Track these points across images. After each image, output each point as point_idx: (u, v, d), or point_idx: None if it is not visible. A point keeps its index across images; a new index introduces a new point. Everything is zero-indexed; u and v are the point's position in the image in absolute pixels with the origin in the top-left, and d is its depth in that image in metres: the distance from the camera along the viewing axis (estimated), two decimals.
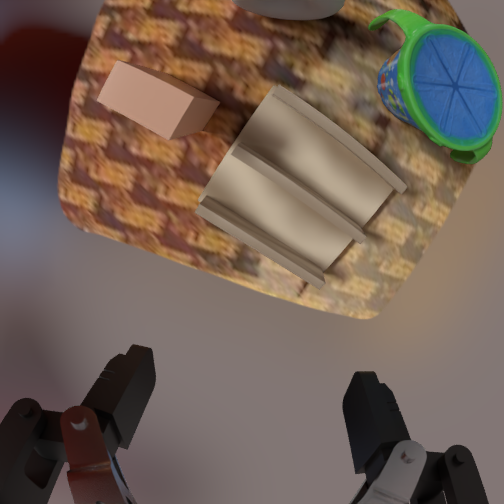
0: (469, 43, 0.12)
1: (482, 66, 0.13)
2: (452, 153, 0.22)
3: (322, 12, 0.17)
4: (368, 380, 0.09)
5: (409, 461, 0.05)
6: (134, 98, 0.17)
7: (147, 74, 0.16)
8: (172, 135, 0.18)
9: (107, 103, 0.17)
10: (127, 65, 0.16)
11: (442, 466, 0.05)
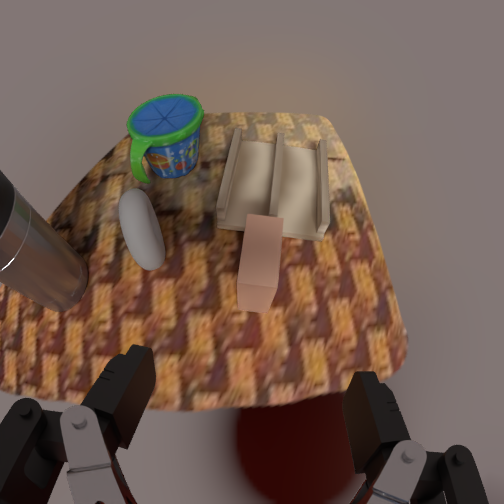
0: (132, 121, 0.33)
1: (141, 112, 0.35)
2: None
3: (151, 204, 0.34)
4: (368, 380, 0.09)
5: (409, 461, 0.05)
6: (264, 253, 0.26)
7: (242, 251, 0.26)
8: None
9: (276, 276, 0.25)
10: (239, 271, 0.25)
11: (442, 466, 0.05)
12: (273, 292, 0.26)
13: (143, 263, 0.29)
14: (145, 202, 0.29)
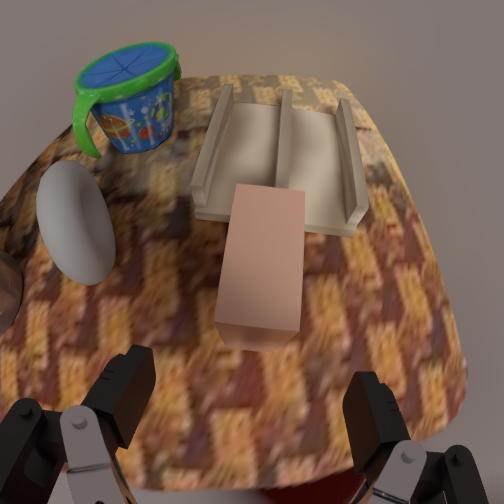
0: (82, 76, 0.20)
1: (96, 66, 0.21)
2: (176, 77, 0.29)
3: (95, 185, 0.21)
4: (368, 380, 0.09)
5: (409, 461, 0.05)
6: (270, 259, 0.13)
7: (225, 255, 0.13)
8: None
9: (296, 307, 0.12)
10: (219, 297, 0.12)
11: (442, 466, 0.05)
12: (289, 336, 0.13)
13: (71, 276, 0.16)
14: (75, 177, 0.16)
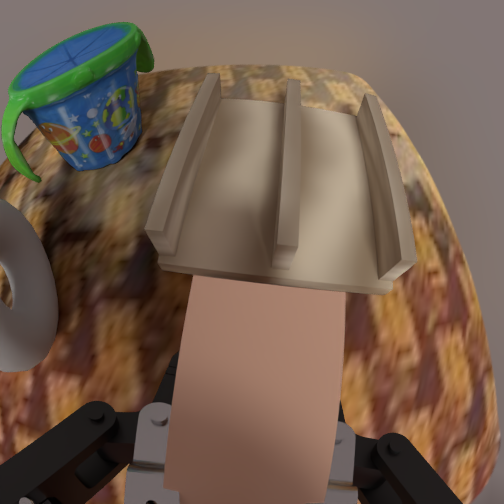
0: (22, 74, 0.12)
1: (42, 60, 0.14)
2: (148, 68, 0.21)
3: (24, 226, 0.13)
4: None
5: None
6: (264, 462, 0.05)
7: (170, 449, 0.05)
8: None
9: None
10: None
11: (377, 459, 0.06)
12: None
13: None
14: None
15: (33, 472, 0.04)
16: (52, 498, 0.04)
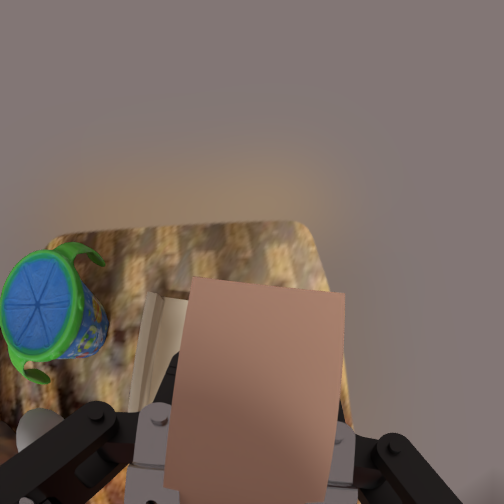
0: (3, 306, 0.19)
1: (12, 286, 0.20)
2: (101, 265, 0.28)
3: (54, 422, 0.19)
4: None
5: None
6: (264, 463, 0.05)
7: (170, 450, 0.05)
8: None
9: None
10: None
11: (377, 459, 0.06)
12: None
13: None
14: None
15: (33, 472, 0.04)
16: (52, 498, 0.04)
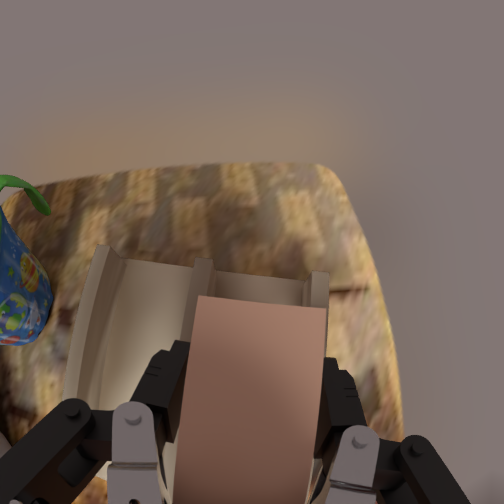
0: None
1: None
2: (45, 213, 0.17)
3: None
4: (327, 365, 0.10)
5: (359, 446, 0.06)
6: (257, 449, 0.06)
7: (180, 438, 0.06)
8: None
9: None
10: (176, 497, 0.05)
11: (399, 460, 0.06)
12: None
13: None
14: None
15: (19, 473, 0.03)
16: (40, 500, 0.04)
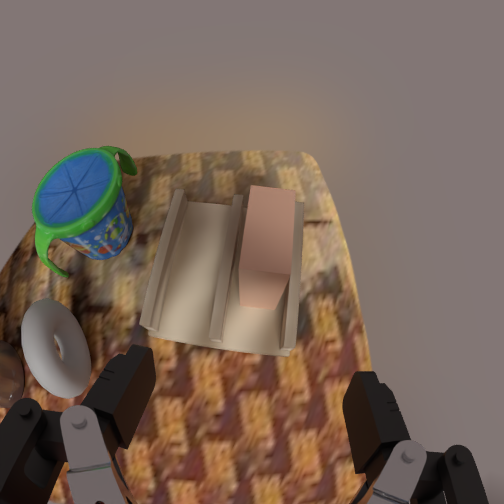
0: (38, 195, 0.23)
1: (51, 180, 0.24)
2: (133, 173, 0.32)
3: (66, 314, 0.23)
4: (368, 380, 0.09)
5: (409, 461, 0.05)
6: (273, 232, 0.20)
7: (245, 229, 0.20)
8: None
9: (288, 260, 0.19)
10: (241, 254, 0.20)
11: (442, 466, 0.05)
12: (285, 281, 0.20)
13: (60, 396, 0.19)
14: (47, 329, 0.19)
15: None
16: None
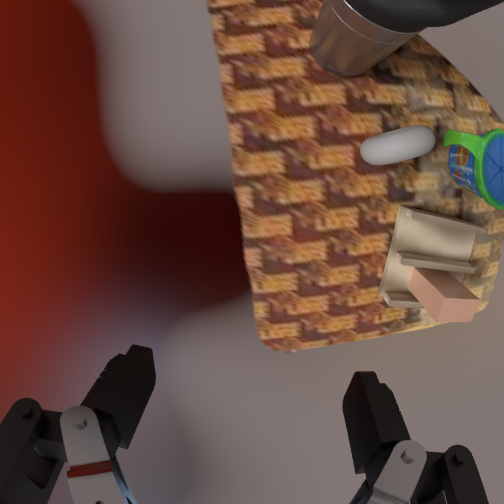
0: (501, 135, 0.23)
1: None
2: None
3: None
4: (368, 380, 0.09)
5: (409, 461, 0.05)
6: (455, 312, 0.30)
7: (460, 299, 0.29)
8: None
9: (442, 320, 0.30)
10: (450, 298, 0.29)
11: (442, 466, 0.05)
12: (431, 314, 0.32)
13: (365, 149, 0.29)
14: (420, 155, 0.26)
15: None
16: None
